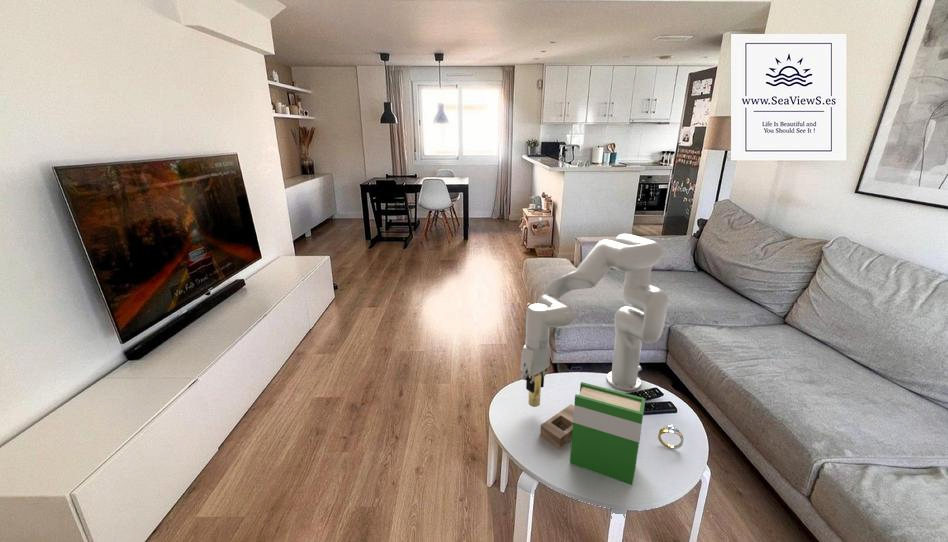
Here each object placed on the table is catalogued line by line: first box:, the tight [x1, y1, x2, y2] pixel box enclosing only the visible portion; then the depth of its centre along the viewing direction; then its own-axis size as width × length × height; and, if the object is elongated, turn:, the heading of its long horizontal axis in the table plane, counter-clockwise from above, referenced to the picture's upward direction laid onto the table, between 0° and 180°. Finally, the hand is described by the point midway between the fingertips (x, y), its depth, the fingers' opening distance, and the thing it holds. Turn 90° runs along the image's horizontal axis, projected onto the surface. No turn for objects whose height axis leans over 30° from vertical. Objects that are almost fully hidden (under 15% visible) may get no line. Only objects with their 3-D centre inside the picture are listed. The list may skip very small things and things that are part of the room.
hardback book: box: [569, 381, 646, 486], centre depth 114 cm, size 18×7×24 cm, turn 63°
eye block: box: [539, 404, 574, 450], centre depth 132 cm, size 16×8×4 cm, turn 130°
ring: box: [657, 424, 685, 450], centre depth 123 cm, size 7×3×8 cm, turn 57°
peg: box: [528, 372, 542, 408], centre depth 136 cm, size 4×4×12 cm
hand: (534, 387), depth 136 cm, fingers closed on peg, 4 cm apart
